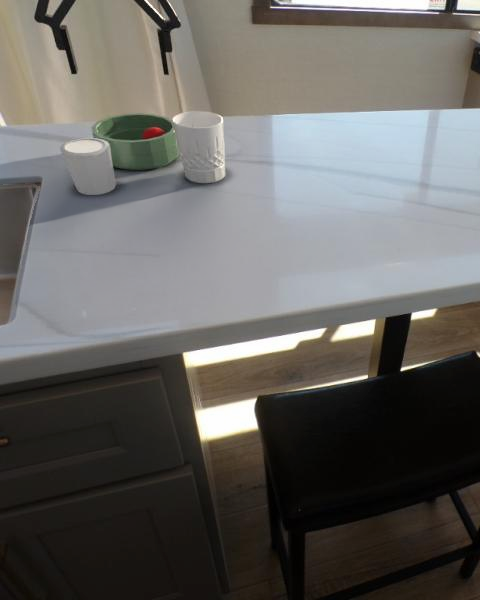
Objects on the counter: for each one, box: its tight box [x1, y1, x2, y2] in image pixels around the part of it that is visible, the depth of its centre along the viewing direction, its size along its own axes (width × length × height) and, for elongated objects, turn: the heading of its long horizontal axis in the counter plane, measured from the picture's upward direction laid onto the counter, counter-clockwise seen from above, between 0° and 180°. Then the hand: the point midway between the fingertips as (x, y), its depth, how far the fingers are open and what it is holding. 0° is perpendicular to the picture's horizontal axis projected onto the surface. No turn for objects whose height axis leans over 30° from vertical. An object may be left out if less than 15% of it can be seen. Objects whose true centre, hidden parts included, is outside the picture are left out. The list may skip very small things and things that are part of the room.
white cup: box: [171, 110, 226, 184], centre depth 89 cm, size 8×8×10 cm
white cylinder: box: [59, 137, 117, 196], centre depth 83 cm, size 7×7×7 cm
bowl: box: [91, 112, 180, 171], centre depth 93 cm, size 14×14×6 cm
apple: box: [142, 127, 166, 140], centre depth 94 cm, size 4×4×5 cm
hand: (121, 72), depth 86 cm, fingers open, 13 cm apart
